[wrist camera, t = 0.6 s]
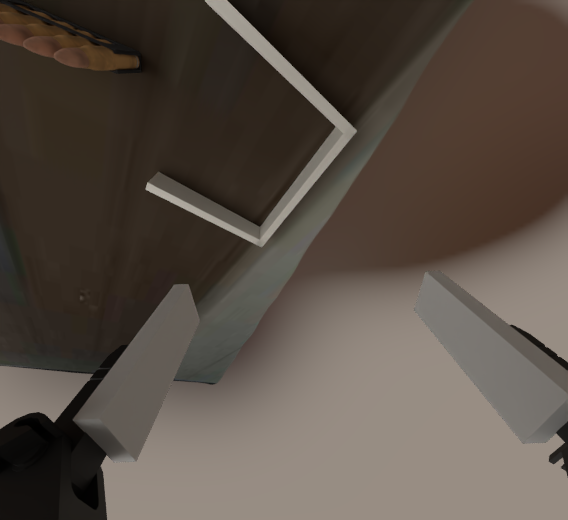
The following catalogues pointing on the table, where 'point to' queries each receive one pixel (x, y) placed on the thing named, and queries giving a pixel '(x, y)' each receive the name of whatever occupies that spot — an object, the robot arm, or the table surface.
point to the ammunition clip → (63, 39)
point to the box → (304, 181)
